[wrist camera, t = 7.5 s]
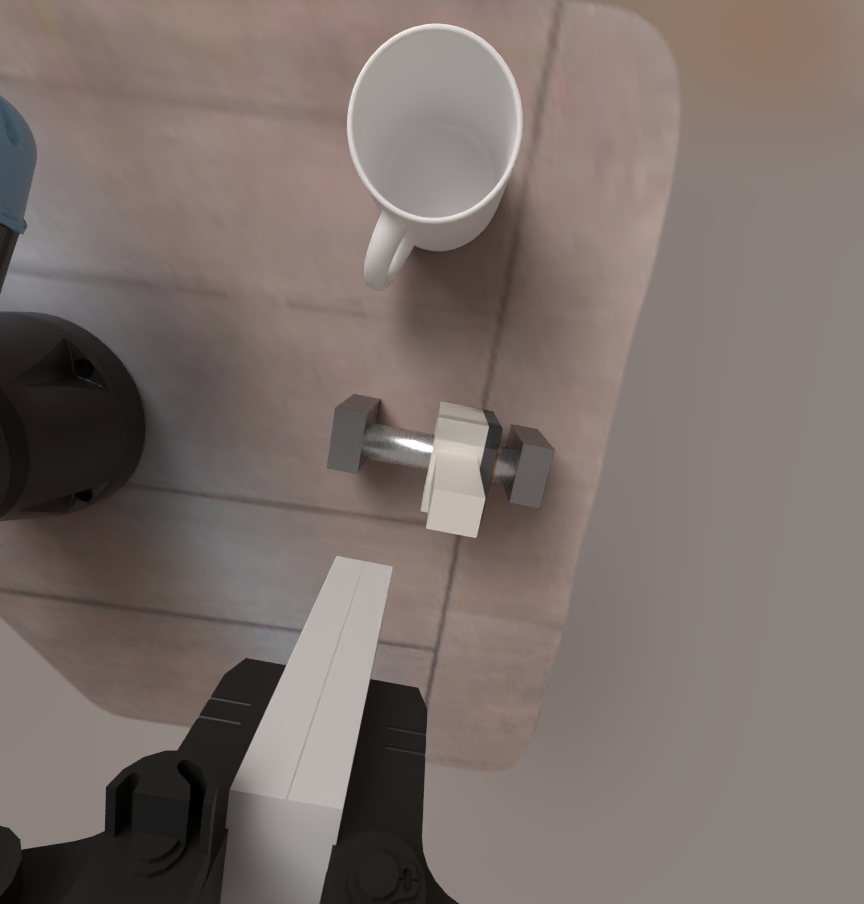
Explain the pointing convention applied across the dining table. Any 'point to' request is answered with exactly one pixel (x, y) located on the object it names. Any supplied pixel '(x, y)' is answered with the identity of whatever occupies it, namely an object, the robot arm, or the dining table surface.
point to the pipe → (364, 439)
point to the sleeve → (460, 468)
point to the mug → (432, 141)
